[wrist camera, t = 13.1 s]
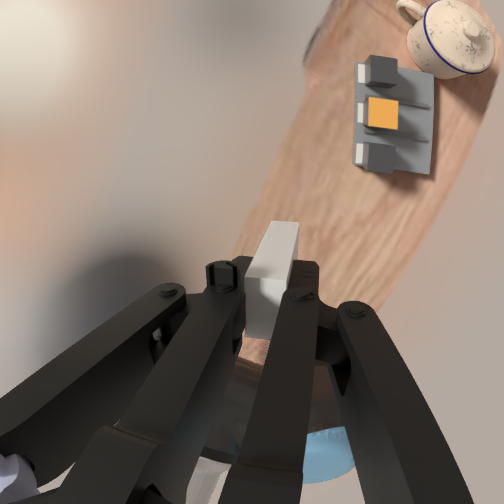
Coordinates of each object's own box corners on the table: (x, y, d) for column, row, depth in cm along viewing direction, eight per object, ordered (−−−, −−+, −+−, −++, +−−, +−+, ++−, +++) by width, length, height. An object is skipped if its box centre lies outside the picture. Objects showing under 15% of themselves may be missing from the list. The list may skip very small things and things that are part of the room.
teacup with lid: (474, 50, 26) (517, 34, 16) (447, 95, 30) (489, 89, 20) (403, -6, 26) (427, -41, 15) (373, 38, 30) (392, 8, 19)
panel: (424, 171, 35) (441, 181, 30) (352, 163, 37) (358, 170, 31) (428, 76, 30) (446, 69, 24) (354, 64, 32) (361, 53, 26)
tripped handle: (387, 128, 33) (397, 129, 28) (362, 125, 33) (369, 125, 29) (388, 103, 31) (398, 101, 27) (362, 100, 32) (369, 97, 27)
